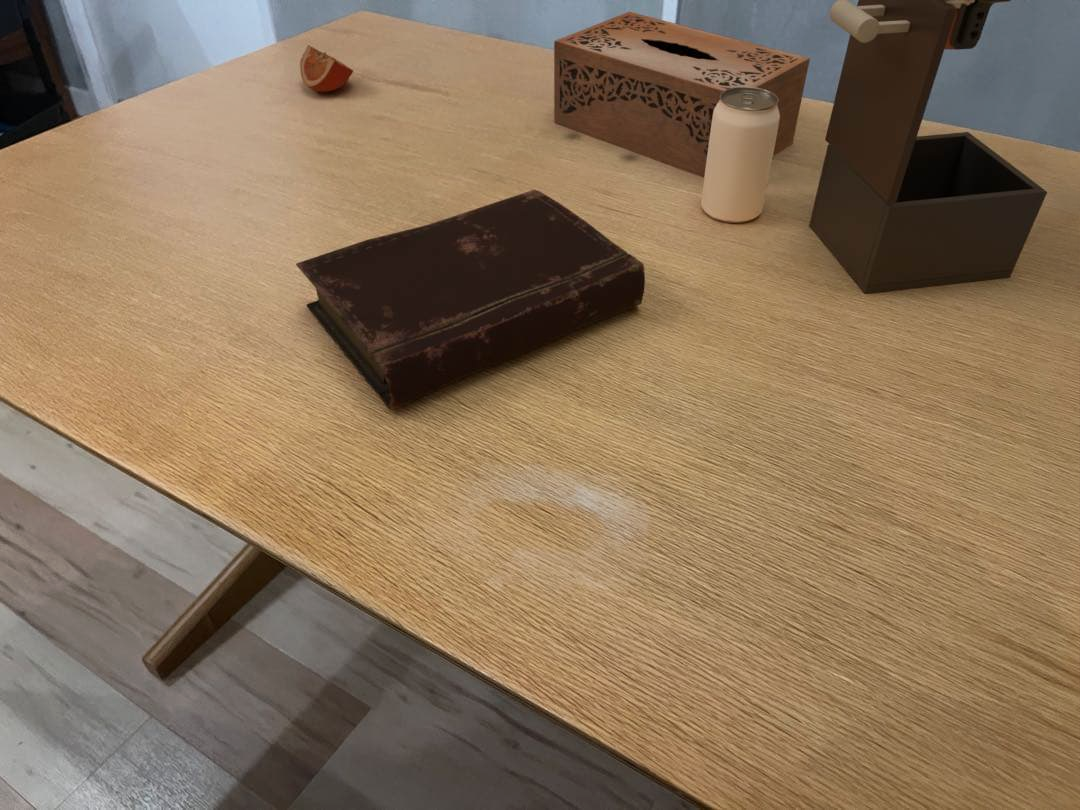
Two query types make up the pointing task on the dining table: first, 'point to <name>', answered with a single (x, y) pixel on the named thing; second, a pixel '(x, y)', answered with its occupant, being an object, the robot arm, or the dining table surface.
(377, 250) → the diary
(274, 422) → the dining table surface
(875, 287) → the dark brown storage bin
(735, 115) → the can
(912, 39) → the lid
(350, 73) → the fruit slice
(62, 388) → the dining table surface
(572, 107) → the tissue box cover
